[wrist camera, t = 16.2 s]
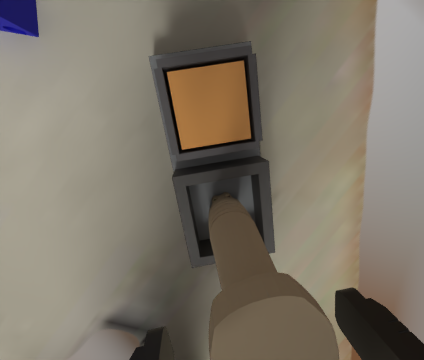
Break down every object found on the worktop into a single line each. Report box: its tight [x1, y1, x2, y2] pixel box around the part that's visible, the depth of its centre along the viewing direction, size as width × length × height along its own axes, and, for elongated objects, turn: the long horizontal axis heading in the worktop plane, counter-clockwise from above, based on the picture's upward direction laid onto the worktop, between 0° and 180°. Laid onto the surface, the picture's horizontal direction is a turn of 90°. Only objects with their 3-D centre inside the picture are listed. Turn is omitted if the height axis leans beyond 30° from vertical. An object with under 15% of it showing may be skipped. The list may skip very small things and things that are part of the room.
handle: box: [209, 192, 339, 360], centre depth 15 cm, size 5×6×15 cm
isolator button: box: [167, 61, 251, 150], centre depth 18 cm, size 6×6×2 cm
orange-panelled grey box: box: [149, 41, 275, 268], centre depth 20 cm, size 20×9×5 cm, turn 9°
